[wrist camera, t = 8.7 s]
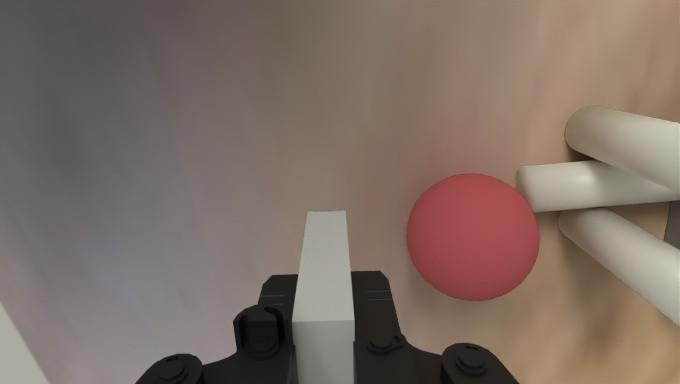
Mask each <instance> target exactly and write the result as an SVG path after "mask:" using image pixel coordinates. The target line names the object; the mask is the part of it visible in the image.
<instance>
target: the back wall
mask: <svg viewBox="0 0 680 384" xmlns="http://www.w3.org/2000/svg"><path fill="white" fill-rule="evenodd" d="M664 241H665V242H666V243H668V244H670V245H672V246H673V247H675V248H677V249H679V250H680V200H676V201H671V206H670V212H669V217H668V222H667V227H666V233H665V238H664Z"/></svg>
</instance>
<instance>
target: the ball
mask: <svg viewBox="0 0 680 384" xmlns="http://www.w3.org/2000/svg"><path fill="white" fill-rule="evenodd" d="M539 239H540V236H539V229H538V224H537V220H536V218H535V215H534V213H533V211H532V209H531V207H530V206H529V204H528V203H527V201H526V200H525V199H524V198H523V197H522V195H521V194H520V193H519V192H517V191H516V190H515V189H514V188H512V187H511V186H510V185H508V184H506V183H505V182H503V181H501V180H499V179H496V178H493V177H490V176H486V175H481V174H461V175H455V176H452V177H449V178H446V179H444V180H441V181H439V182H438V183H436V184H434V185H433V186H431V187H430V188H429V189H428V190H427V191H425V192H424V193H423V194H422V196H421V197H420V198H419V199H418V201H417V202H416V204H415V206H414V207H413V209H412V211H411V214H410V217H409V220H408V226H407V245H408V250H409V254H410V256H411V259H412V261H413V263H414V265H415V267H416V269H417V270H418V272H419V273H420V274H421V276H422V277H423V278H424V279H425V280H426V281H427V282H428V283H429V284H431V285H432V286H433V287H434V288H436V289H437V290H439V291H441V292H442V293H444V294H446V295H449V296H451V297H455V298H458V299H462V300H469V301H482V300H488V299H493V298H496V297H499V296H502V295H504V294H506V293H508V292H510V291H511V290H513V289H514V288H516V287H517V286H518V285H519V284H520V283H521V282H522V281H523V280H524V279H525V278H526V277H527V275H528V274H529V273H530V271H531V269H532V267H533V266H534V263H535V261H536V258H537V255H538V250H539Z"/></svg>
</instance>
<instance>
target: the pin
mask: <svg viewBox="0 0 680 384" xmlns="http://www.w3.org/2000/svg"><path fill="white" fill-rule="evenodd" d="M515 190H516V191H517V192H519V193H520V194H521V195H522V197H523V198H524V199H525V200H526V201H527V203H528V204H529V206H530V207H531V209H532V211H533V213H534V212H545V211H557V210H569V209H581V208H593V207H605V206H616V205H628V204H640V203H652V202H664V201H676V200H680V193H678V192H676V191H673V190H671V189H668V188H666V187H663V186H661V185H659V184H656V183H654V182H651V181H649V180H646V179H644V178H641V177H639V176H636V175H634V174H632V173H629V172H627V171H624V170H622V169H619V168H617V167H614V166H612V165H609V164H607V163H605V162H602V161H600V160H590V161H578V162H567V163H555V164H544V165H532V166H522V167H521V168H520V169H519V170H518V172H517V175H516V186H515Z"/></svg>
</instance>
